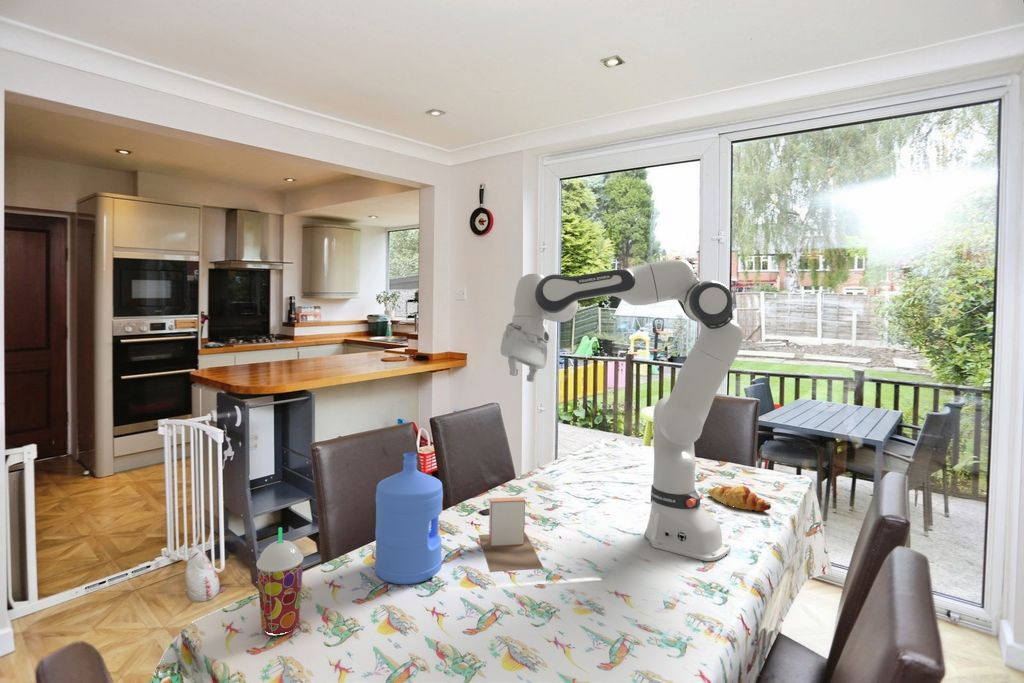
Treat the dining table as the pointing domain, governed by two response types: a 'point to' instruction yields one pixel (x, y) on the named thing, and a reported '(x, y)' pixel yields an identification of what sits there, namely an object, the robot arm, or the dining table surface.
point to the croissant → (739, 498)
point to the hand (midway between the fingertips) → (522, 378)
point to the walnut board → (510, 556)
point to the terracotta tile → (506, 521)
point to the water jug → (408, 525)
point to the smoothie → (280, 585)
